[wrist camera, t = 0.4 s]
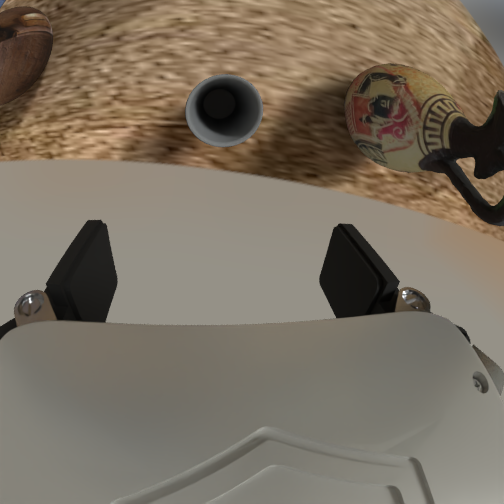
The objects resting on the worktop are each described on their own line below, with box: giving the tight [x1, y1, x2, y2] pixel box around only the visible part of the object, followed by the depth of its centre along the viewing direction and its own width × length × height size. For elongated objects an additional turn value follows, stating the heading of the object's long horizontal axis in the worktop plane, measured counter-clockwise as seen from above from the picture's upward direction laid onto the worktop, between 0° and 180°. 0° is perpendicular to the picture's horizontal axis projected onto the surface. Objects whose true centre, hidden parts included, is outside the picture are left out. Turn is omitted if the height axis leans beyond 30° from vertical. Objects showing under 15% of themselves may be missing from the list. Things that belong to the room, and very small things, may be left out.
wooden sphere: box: [0, 7, 53, 105], centre depth 16 cm, size 15×15×15 cm
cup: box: [185, 74, 263, 147], centre depth 28 cm, size 7×7×15 cm
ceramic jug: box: [344, 63, 504, 226], centre depth 24 cm, size 17×15×30 cm
